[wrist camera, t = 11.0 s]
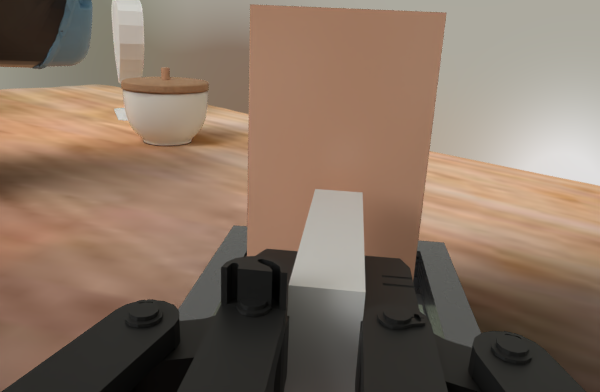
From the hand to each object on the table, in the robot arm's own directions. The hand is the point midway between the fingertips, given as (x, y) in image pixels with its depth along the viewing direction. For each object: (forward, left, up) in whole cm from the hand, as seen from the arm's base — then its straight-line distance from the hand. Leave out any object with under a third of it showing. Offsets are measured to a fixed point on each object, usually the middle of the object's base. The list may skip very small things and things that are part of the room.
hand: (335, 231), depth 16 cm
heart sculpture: (+15, +75, -9) cm, 77 cm away
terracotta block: (+3, +3, -7) cm, 8 cm away
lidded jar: (+13, +52, -9) cm, 54 cm away
